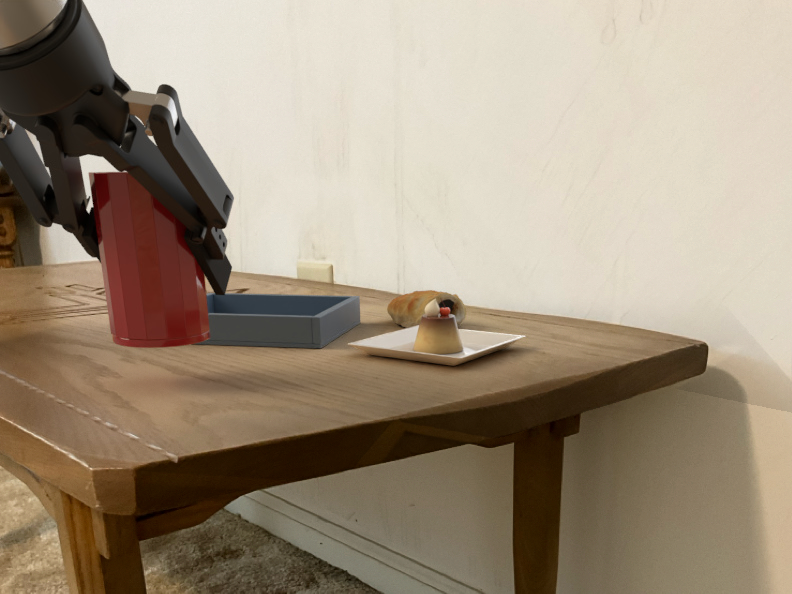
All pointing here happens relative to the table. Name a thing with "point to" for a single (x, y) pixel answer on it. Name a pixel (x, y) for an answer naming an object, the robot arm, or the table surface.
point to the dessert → (436, 340)
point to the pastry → (423, 306)
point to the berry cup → (146, 267)
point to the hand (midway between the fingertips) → (176, 279)
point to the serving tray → (280, 319)
